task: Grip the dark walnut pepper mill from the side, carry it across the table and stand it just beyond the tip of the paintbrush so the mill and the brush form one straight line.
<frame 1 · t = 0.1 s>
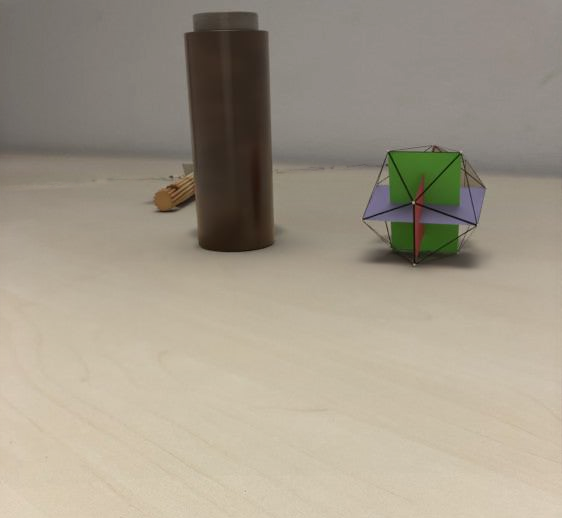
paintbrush: (201, 194, 69), on the table
geometric puzzle: (421, 259, 43), on the table
pepper mill: (236, 242, 48), on the table
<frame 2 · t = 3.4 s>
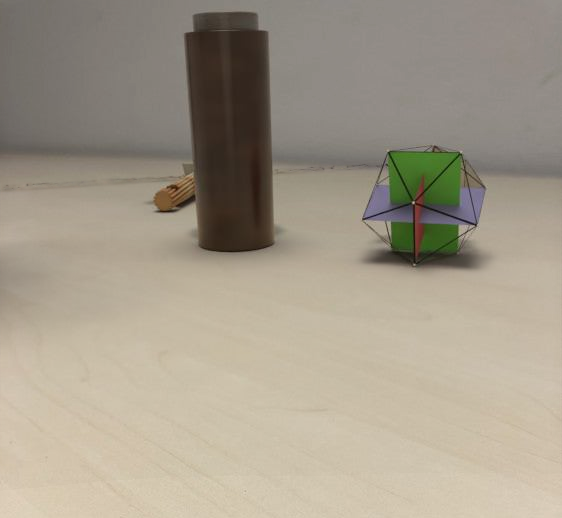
nothing on the table moved.
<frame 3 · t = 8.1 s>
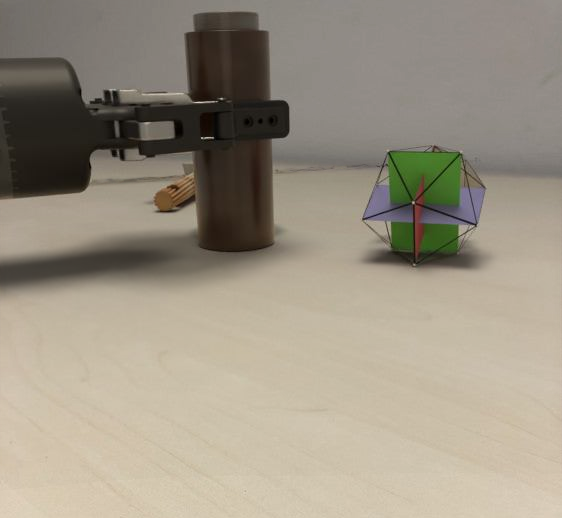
hand: (266, 116, 46), 8 cm above the table, tool horizontal, fingers closed on pepper mill, 5 cm apart
pepper mill: (236, 242, 48), on the table, touching gripper
everything else where it was.
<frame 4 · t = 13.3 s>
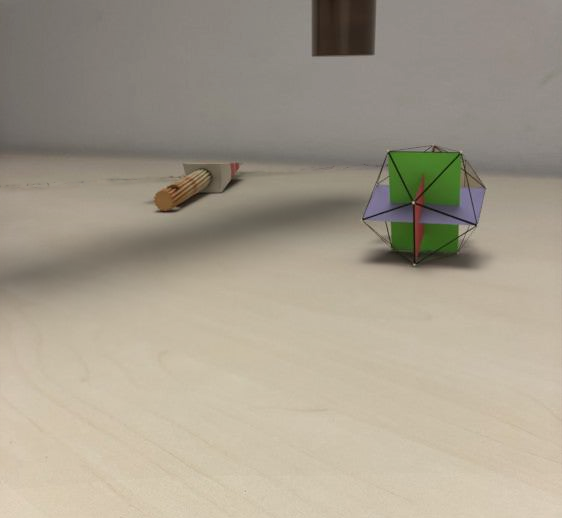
pepper mill: (343, 55, 58), point 12 cm above the table, touching gripper
everything else where it was.
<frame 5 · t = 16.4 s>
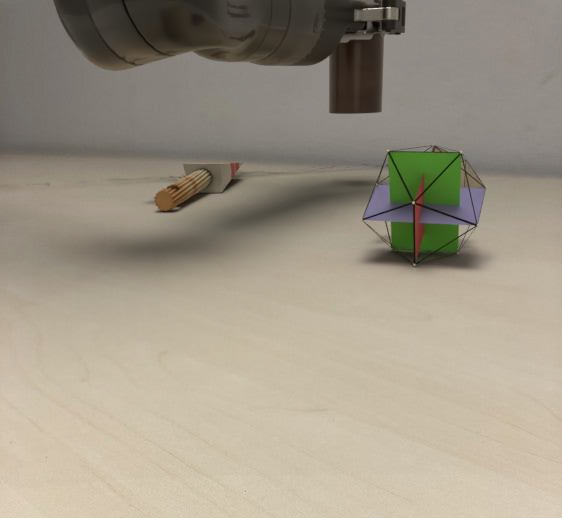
hand: (367, 23, 69), 15 cm above the table, tool horizontal, fingers closed on pepper mill, 5 cm apart
pepper mill: (355, 112, 70), point 7 cm above the table, touching gripper
everything else where it was.
when the fingers open (8 cm above the table, at t = 18.8 s): pepper mill stays where it is, on the table.
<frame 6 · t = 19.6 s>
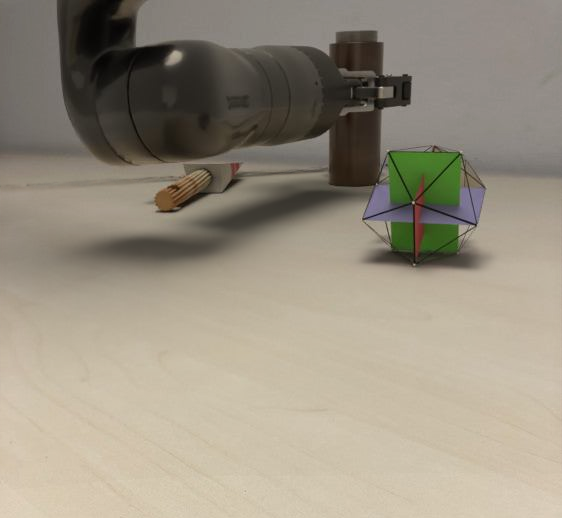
hand: (361, 89, 70), 9 cm above the table, tool horizontal, fingers open, 8 cm apart
pepper mill: (354, 182, 72), on the table
everything else where it was.
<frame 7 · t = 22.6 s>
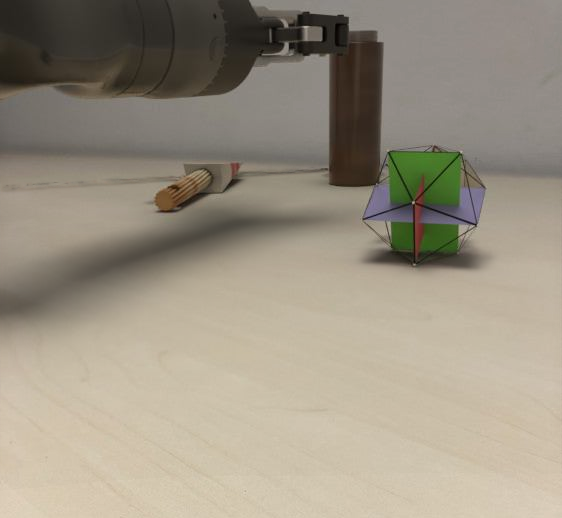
hand: (295, 40, 58), 13 cm above the table, tool horizontal, fingers open, 8 cm apart
nothing on the table moved.
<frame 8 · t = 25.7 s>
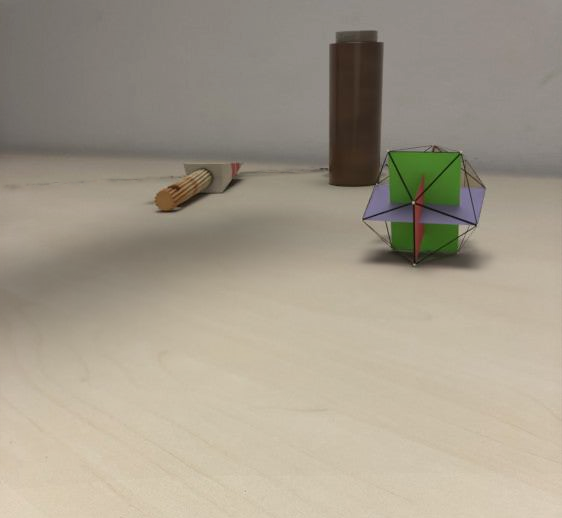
nothing on the table moved.
at the end: pepper mill 0.8 cm from the target spot on the table beside the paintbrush, on the table; pepper mill tilted 0°; the gripper is holding nothing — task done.
